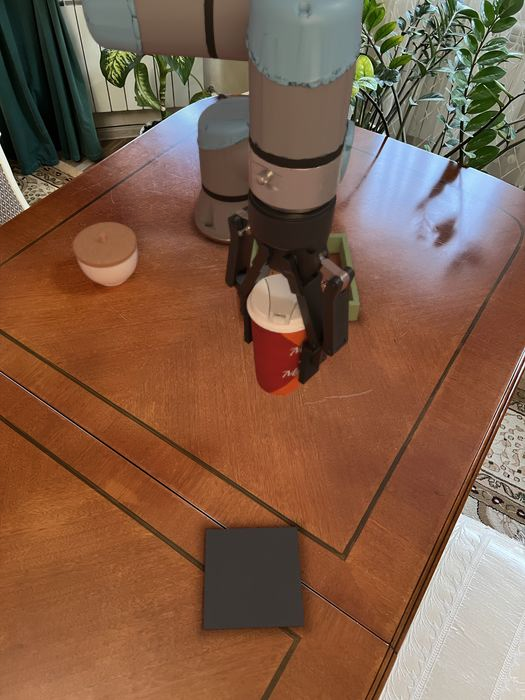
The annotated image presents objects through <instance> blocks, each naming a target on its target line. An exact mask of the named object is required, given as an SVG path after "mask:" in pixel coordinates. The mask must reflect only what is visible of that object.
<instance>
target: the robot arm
mask: <svg viewBox="0 0 525 700" xmlns="http://www.w3.org/2000/svg"><path fill="white" fill-rule="evenodd" d="M80 3H81V8H82V13H83V17H84V20H85V24H86V28H87V30H88V33H89V34H90V36H91V38H92V39H93V41H94V42H95V43H96V44H97V45H98V46H99V47H101V48H102V49H105V50H112V51H118V52H124V53H125V52H126V53H133V54H136V55H137V56H143V55H152V56H167V57H184V58H200V59H213V60H221V61H222V60H223V61H235V62H236V61H237V62H248V64H247V65H248V66H247V67H248V96H231V97H228V96H227V95H225V94H224V93H219V94H217V98H218V99H220V100H217V101H215V102H214V103H212V104H210V105H208V106H207V107H206V108H205V109H204V110H202V112H201V114H200V115H199V117H198V119H197V136H196V137H197V138H196V143H197V146H198V147H197V149H198V159H199V170H200V171H199V172H200V182H201V188H200V191H199V194H198V197H197V201H196V204H195V208H194V224H195V227H196V230H198V232H199V233H200V234H201V235H202V236H203V237H204V238H206V239H208V240H210V241H212V242H215V243H218V244H222V245H228V250H227V251H228V252H227V259H226V260H227V261H226V268H225V277H224V281H225V284H226V286H227V287H229V288H231V289H232V288H234V289H236V294H237V296H238V298H239V308H240V309H239V311H240V314H241V315H242V316H243V341H244V343H246V344H247V345H250V344H251V343H253V339H252V326H251V317H250V315H249V313H248V309H247V299H248V297H249V294H250V293H251V291H252V290H253V288H254V286H255V285H256V284H257V283H258V282H259V281H260V280H261V279H263V278H265V277H268V276H269V275H270V273H271V271H272V270H273V271H274V272H276V273H278V274H282V275H283V276H284V277H285V278H286V279H287V280H288V284H289V288H290V291H291V293H292V294H295V295H296V298H297V301H298V305H299V309H300V312H301V316H302V319H303V323H304V327H305V330H306V334H307V338H308V340H307V341H306V342H304V343H303V344H302V352H301V361H300V369H299V378H298V381H299V382H300V383H301V384H300V385H302V386H304V385H305V384H306V383H307V382H309V380H310V379H311V378H312V377H314V376H315V375H316V374H317V373H318V372H319V370H320V367H321V366H320V365H322V364H323V363H324V362H325V361H326V360H327V359H328V357H333V356H335V355H336V354H337V353H338V352H339V351H340V350H341V349H342V348H343V347H345V345H346V344H348V343H349V326H350V325H349V287H350V285H351V283H352V281H353V278H354V276H355V277H356V271H355V270H354V268H353V269H352V268H351V267H350V266H346V267H344V268H343V269H342V268H341V267H339V266H338V265H337V264H336V263H335V262H333V261H332V260H331V258H330V257H331V253H329V251H328V247H327V241H328V238H329V235H330V233H332V230H333V226H334V221H335V220H334V218H335V212H336V207H337V206H336V205H337V197H338V196H337V193H338V191H339V186H340V184H341V183H342V181H343V180H344V178H345V176H346V175H345V174H346V172H347V169H348V165H349V161H350V157H351V154H352V153H351V152H352V151H351V150H352V147H353V144H354V138H355V132H356V124H355V122H354V120H351V119H349V113H350V112H349V111H350V106H351V100H352V94H353V88H354V81H355V74H356V68H357V62H358V61H357V60H358V57H359V55H360V53H361V46H362V42H363V39H362V33H363V32H362V31H363V23H362V21H363V13H364V0H80ZM254 239H255V241H256V243H257V245H258V247H259V248H258V250H257V251H258V252H257V254H256V255H255V257H254V259H253V261H252V266H251V268H250V262H251V256H252V250H253V244H254Z"/></svg>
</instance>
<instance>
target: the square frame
mask: <svg viewBox="0 0 525 700" xmlns="http://www.w3.org/2000/svg"><path fill="white" fill-rule="evenodd" d="M349 244H350V243H349V240H348V234H347V233H346V232H344V233H343V232H338V233H337V232H335V233H334V232H333V233H332V232H331V233H330V235H329V238H328V241H327V247H328V251H329V254H339V259H340V264H341V269H343V268H344V267H346V266H350V267H351V268H352V269H353V270H354V266H353V265H354V264H353V261H352V260H353V259H352V255H351V249H350V245H349ZM258 248H259V247H258V245H257V243H256V241H255V239H254V244H253V250H252V256H251V262H250V267H249V269H250V268H251V266H252V261H253V259H254V257H255V255H256V254H257V252H258V251H257V250H258ZM360 308H361V303H360V297H359V291H358V286H357V281H356V275H355V276H354V278H353V281H352V283H351V285H350V287H349V321H350V322H351V321H358V316H359V312H360Z"/></svg>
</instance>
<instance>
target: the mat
mask: <svg viewBox="0 0 525 700" xmlns="http://www.w3.org/2000/svg"><path fill="white" fill-rule="evenodd" d="M204 542H205V543H204V546H205V547H204V582H203V584H204V585H203V589H204V590H203V622H202V624H203V626H202V627H203V628H202V629H203V631H210V630H211V631H212V630H215V631H216V630H240V629H241V630H243V629H264V628H266V629H268V628H270V629H271V628H295V627H296V628H297V627H299V628H300V627H305V614H304V601H303V588H302V575H301V562H300V560H301V559H300V550H299V535H298V526H287V527H286V526H285V527H283V526H282V527H281V526H280V527H252V528H219V529H218V528H217V529H214V528H213V529H205V541H204Z"/></svg>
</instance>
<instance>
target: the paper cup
mask: <svg viewBox="0 0 525 700" xmlns="http://www.w3.org/2000/svg"><path fill="white" fill-rule="evenodd" d="M247 309H248V313H249V315H250V317H251V326H252V339H253V341H252V349H253V360H254V372H255V379H256V383H257V384H258V385H259V387H260V388H261V390H262V391H264V392H266V393H268V394H269V395H272V396H287V395H289V394H292V393H293V392H295V391H296V390H297V389H298V388H299V387H300V386H301V385H302V384H301V383H300V382H299V381H298V378H299V369H300V361H301V352H302V344H303V343H304V342H306V341H307V340H308V338H307V334H306V330H305V327H304V323H303V319H302V316H301V312H300V309H299V305H298V301H297V298H296V295H295V294H292V293H291V291H290V288H289V284H288V280H287V279H286V278H285V277H284V276H283V275H282V274H281V273H275V274H271V275H268V276H267V277H265V278H263V279H261V280H260V281H259V282H258V283H257V284H256V285H255V286H254V288H253V290H252V291H251V293H250V294H249V297H248V299H247Z"/></svg>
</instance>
